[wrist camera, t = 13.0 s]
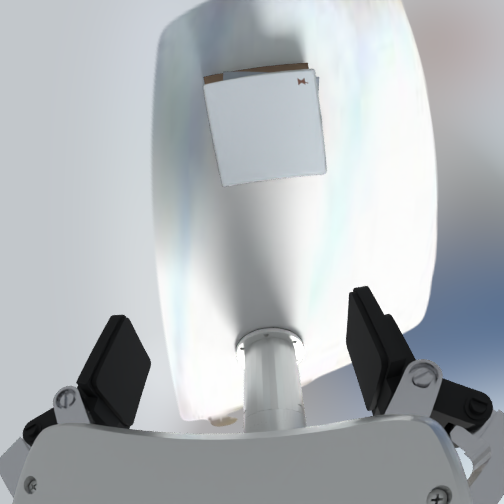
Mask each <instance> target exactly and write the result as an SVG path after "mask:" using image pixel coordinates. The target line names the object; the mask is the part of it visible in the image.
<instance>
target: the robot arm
mask: <svg viewBox="0 0 504 504" xmlns="http://www.w3.org/2000/svg"><path fill="white" fill-rule="evenodd" d="M346 345H347V349H348V352H349V355H350V358H351V361H352V364H353V367H354V370H355V373H356V376H357V379H358V382H359V386H360V389H361V392H362V395H363V398H364V402H365V405H366V408H367V410H368V411H370V410H372V413H373V416H370V417H365V418H359V419H353V420H348V421H343V422H338V423H331V424H325V425H318V426H311V427H307V426H306V419H305V411H304V404H303V397H302V390H301V383H300V376H299V369H298V363H299V362H300V361H301V359H302V357H303V355H304V346H303V343H302V341H301V339H300V338H299V337H298V336H297V335H296V334H294V333H292V332H291V331H288V330H285V329H279V328H265V329H260V330H256V331H254V332H251V333H249V334H248V335H246V336H245V337H243V338H242V339H241V341H240V342H239V343H238V345H237V349H236V357H237V360H238V362H239V363H240V364H241V365H242V366H243V367H244V433H235V434H187V433H186V434H185V433H166V432H152V431H142V430H132V429H129V428H130V426H131V425H133V423H134V419H135V416H136V412H137V409H138V405H139V402H140V398H141V395H142V392H143V389H144V386H145V382H146V379H147V376H148V373H149V370H150V366H151V361H150V358H149V356H148V355H147V353H146V351H145V349H144V347H143V345H142V343H141V342H140V340H139V337H138V335H137V334H136V332H135V330H134V327H133V325H132V324H131V321H130V320H129V318H126V316H125V315H113V316H111V317H110V319H109V321H108V323H107V324H106V326H105V328H104V330H103V332H102V334H101V335H100V337H99V339H98V341H97V343H96V345H95V346H94V348H93V350H92V352H91V354H90V356H89V358H88V360H87V362H86V364H85V366H84V368H83V370H82V372H81V374H80V376H79V378H78V380H77V382H76V383H77V384H78V387H77V388H76V387H73V386H66V387H64V388H62V389H60V390H59V391H58V392H57V393H56V395H55V397H54V399H53V406H54V407H53V408H52V409H50V410H48V411H47V412H45V413H43V414H42V415H40V416H38V417H36V418H35V419H33V420H32V421H30V422H29V423H27V425H26V426H25V428H24V430H23V439H22V438H21V437H20V438H19V439H18V440H17V441H16V442H15V443H14V444H13V445H12V446H11V447H10V448H9V449H8V450H7V451H6V452H5V453H4V454H3V455H2V456H1V457H0V475H1V477H2V479H3V481H4V482H5V484H6V486H7V488H8V490H9V491H10V493H11V495H12V496H13V498H14V500H13V504H497V503H498V502H499V501H500V499H501V498H502V496H503V495H504V413H503V412H502V411H500V410H498V411H497V412H496V411H495V410H493V405H492V401H491V400H490V398H489V397H488V396H487V395H486V394H484V393H482V392H480V391H477V390H474V389H471V388H468V387H465V386H463V385H460V384H456V383H454V382H451V381H449V380H446V379H443V378H442V371H441V369H440V367H439V366H438V365H437V364H436V363H434V362H432V361H430V360H425V359H421V360H416V359H415V358H414V356H413V354H412V352H411V350H410V348H409V346H408V344H407V342H406V340H405V339H404V337H403V335H402V333H401V331H400V329H399V328H398V326H397V324H396V322H395V321H394V319H393V317H392V316H391V315H390V314H386V315H384V314H383V312H382V310H381V308H380V306H379V305H378V303H377V301H376V299H375V298H374V296H373V294H372V292H371V290H370V289H369V287H368V286H364V287H358V288H354V290H353V292H350V293H349V305H348V321H347V335H346ZM458 447H460V448H461V449H463V450H464V451H465V453H464V454H465V455H466V456H467V457H469V458H470V459H471V461H472V463H473V472H472V474H471V475H470V477H469V479H468V480H467V479H466V475H465V472H464V469H463V467H462V464H461V461H460V458H459V456H458V453H457V451H456V449H455V448H458ZM430 491H431V492H430Z"/></svg>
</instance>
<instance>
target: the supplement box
mask: <svg viewBox="0 0 504 504" xmlns="http://www.w3.org/2000/svg"><path fill="white" fill-rule="evenodd" d="M203 90H204V96H205V102H206V108H207V113H208V119H209V124H210V130H211V135H212V140H213V144H214V149H215V154H216V159H217V164H218V169H219V173H220V178H221V182H222V186H223V187H227V186H232V185H238V184H244V183H251V182H258V181H266V180H274V179H282V178H291V177H301V176H310V175H321V174H325V173H326V171H327V166H326V155H325V145H324V136H323V127H322V116H321V111H320V104H319V97H318V89H317V83H316V75H315V70H314V69H301V70H290V71H280V72H271V73H264V74H257V75H251V76H245V77H239V78H234V79H229V80H224V81H219V82H214V83H209V84H205V85H203Z"/></svg>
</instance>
